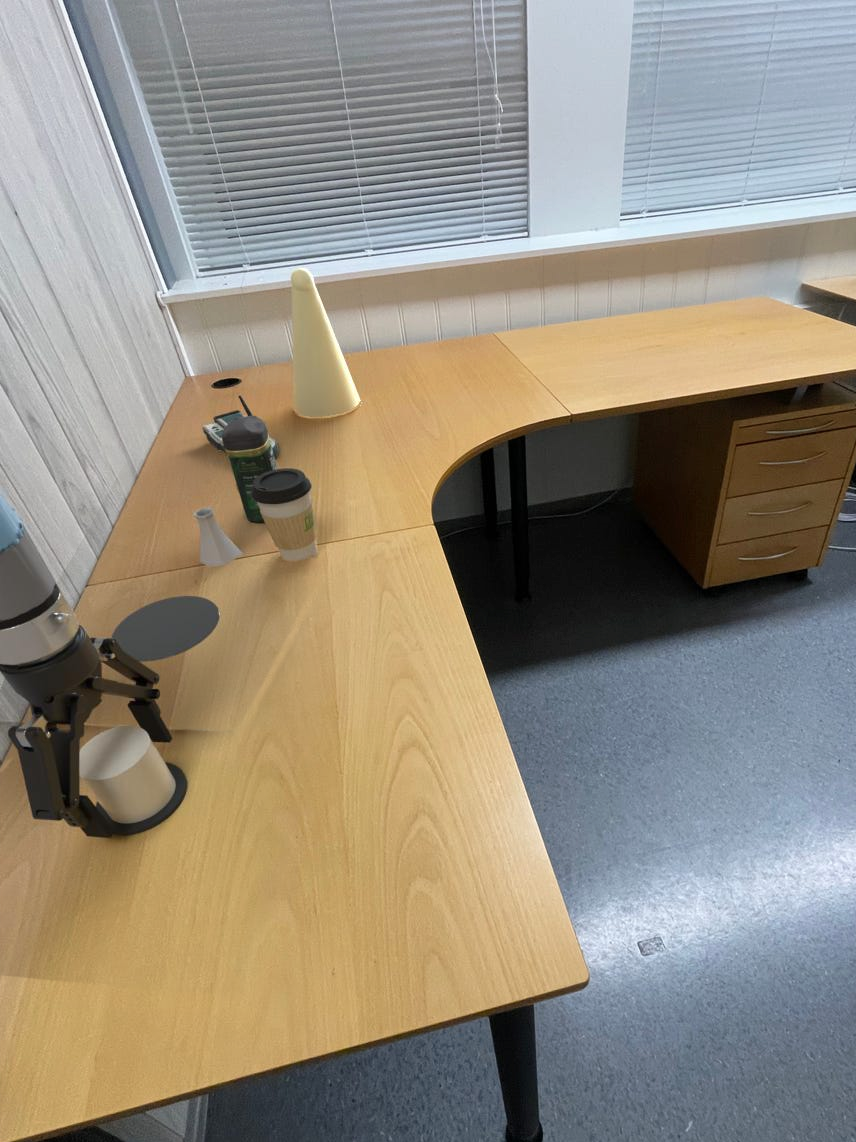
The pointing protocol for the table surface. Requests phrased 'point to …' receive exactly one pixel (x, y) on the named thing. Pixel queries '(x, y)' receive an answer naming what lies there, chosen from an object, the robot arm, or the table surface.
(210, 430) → the communication device
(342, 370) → the cone light
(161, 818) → the coaster
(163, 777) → the white cylinder
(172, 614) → the plate
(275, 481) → the coffee cup
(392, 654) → the table surface
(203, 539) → the flask
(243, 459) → the coffee jar
